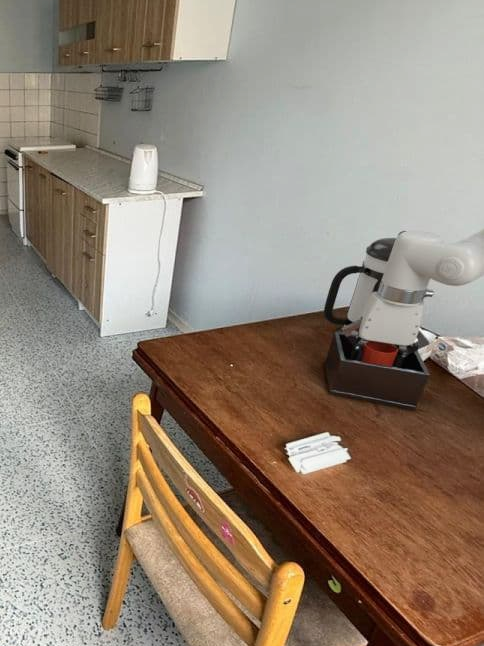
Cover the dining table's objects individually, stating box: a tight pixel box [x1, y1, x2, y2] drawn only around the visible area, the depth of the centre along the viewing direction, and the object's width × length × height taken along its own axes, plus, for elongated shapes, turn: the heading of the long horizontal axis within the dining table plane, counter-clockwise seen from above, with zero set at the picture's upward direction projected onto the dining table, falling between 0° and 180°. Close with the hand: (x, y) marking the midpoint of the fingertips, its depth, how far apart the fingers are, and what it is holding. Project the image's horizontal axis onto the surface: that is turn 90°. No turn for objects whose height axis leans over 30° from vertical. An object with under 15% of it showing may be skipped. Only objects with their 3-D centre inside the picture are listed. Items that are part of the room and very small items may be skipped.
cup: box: [360, 341, 399, 367], centre depth 105 cm, size 6×6×8 cm
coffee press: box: [323, 230, 407, 335], centre depth 118 cm, size 17×16×30 cm
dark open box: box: [324, 331, 431, 411], centre depth 106 cm, size 16×14×9 cm
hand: (373, 365), depth 105 cm, fingers closed on cup, 6 cm apart
